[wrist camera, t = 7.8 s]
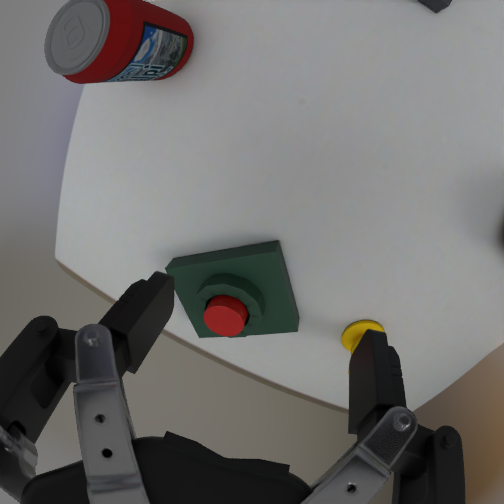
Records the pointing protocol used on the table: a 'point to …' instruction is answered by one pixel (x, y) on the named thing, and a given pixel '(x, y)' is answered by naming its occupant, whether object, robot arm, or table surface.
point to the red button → (225, 315)
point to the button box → (238, 287)
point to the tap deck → (436, 4)
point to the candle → (357, 333)
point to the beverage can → (116, 41)
